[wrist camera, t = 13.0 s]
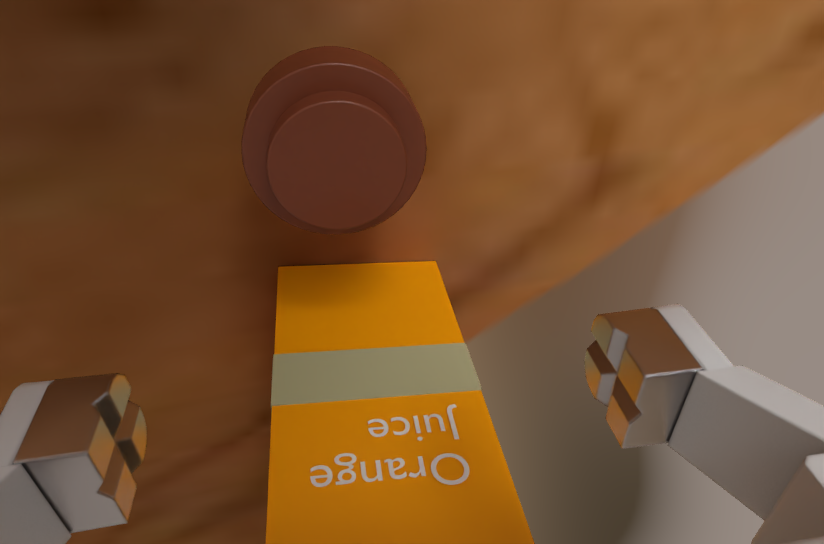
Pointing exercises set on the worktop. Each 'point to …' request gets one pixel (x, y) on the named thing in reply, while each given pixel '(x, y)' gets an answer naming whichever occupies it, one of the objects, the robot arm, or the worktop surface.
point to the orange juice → (380, 415)
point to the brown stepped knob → (333, 141)
